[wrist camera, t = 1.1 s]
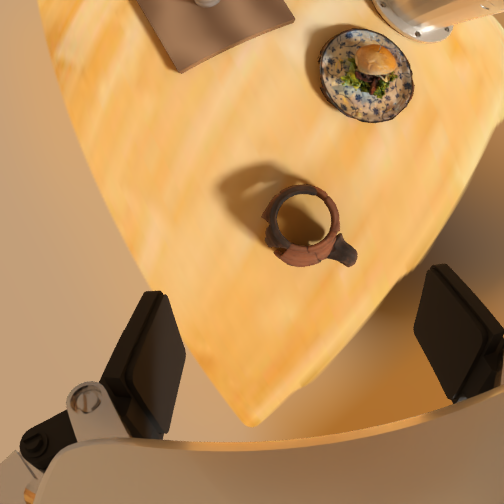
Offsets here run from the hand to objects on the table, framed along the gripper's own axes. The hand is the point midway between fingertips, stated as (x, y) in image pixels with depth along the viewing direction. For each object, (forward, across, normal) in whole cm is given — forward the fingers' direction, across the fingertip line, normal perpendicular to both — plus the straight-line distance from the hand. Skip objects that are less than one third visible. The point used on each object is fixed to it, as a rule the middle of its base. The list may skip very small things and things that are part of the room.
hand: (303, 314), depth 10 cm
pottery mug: (+26, -4, +8) cm, 28 cm away
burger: (+27, -12, -11) cm, 31 cm away
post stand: (+26, +5, -21) cm, 34 cm away
